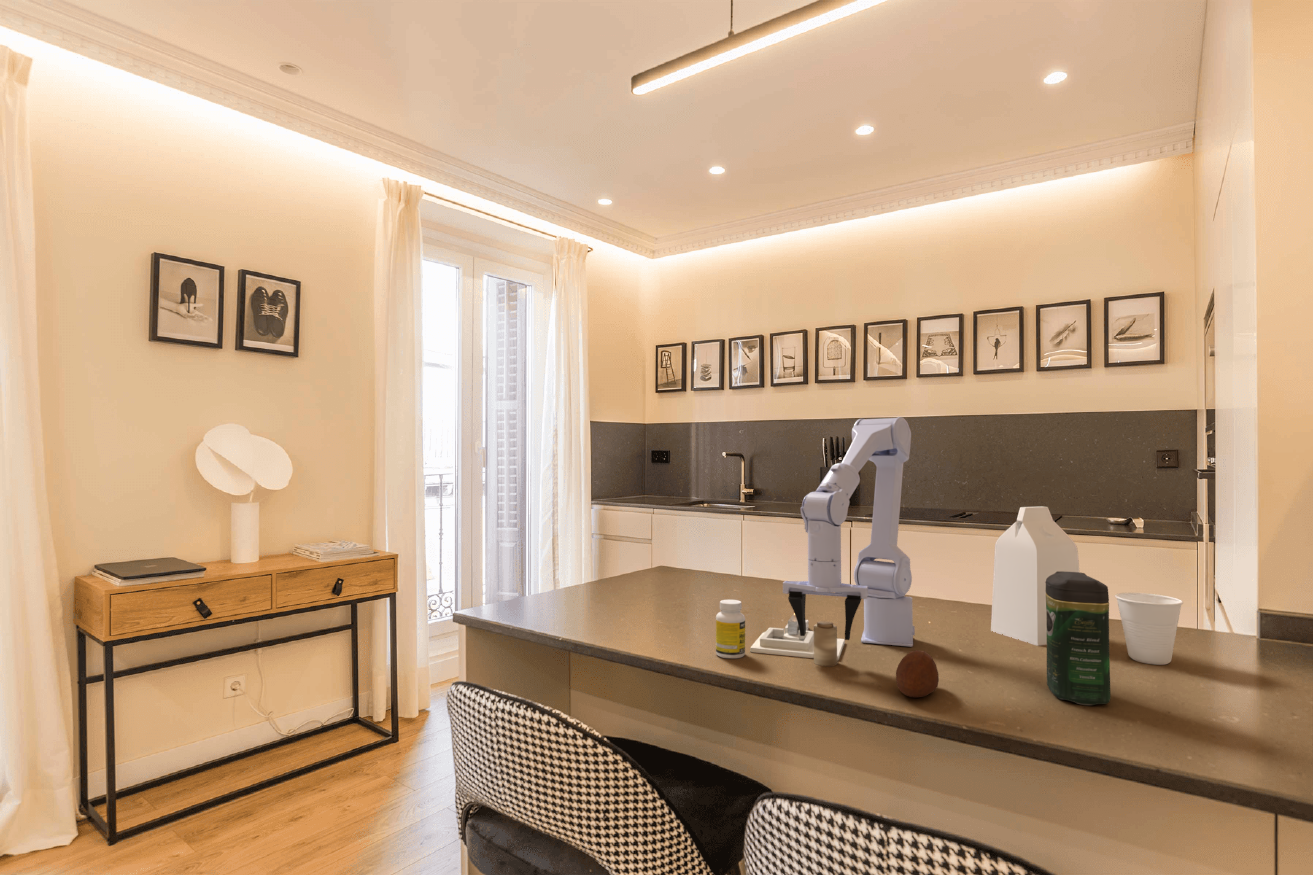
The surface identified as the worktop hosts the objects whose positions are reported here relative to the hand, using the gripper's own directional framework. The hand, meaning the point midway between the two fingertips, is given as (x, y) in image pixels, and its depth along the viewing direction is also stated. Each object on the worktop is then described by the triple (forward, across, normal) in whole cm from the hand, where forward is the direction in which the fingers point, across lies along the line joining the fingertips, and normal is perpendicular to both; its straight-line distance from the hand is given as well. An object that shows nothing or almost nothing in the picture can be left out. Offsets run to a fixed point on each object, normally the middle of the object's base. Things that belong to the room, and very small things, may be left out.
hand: (825, 636), depth 121 cm
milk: (+5, +38, +33) cm, 51 cm away
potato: (+5, +15, -11) cm, 19 cm away
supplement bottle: (+5, -17, -1) cm, 18 cm away
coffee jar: (+5, +38, -4) cm, 39 cm away
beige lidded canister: (+5, 0, 0) cm, 5 cm away
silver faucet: (+4, -8, +18) cm, 20 cm away
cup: (+5, +54, +21) cm, 58 cm away
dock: (+5, -6, +13) cm, 15 cm away
